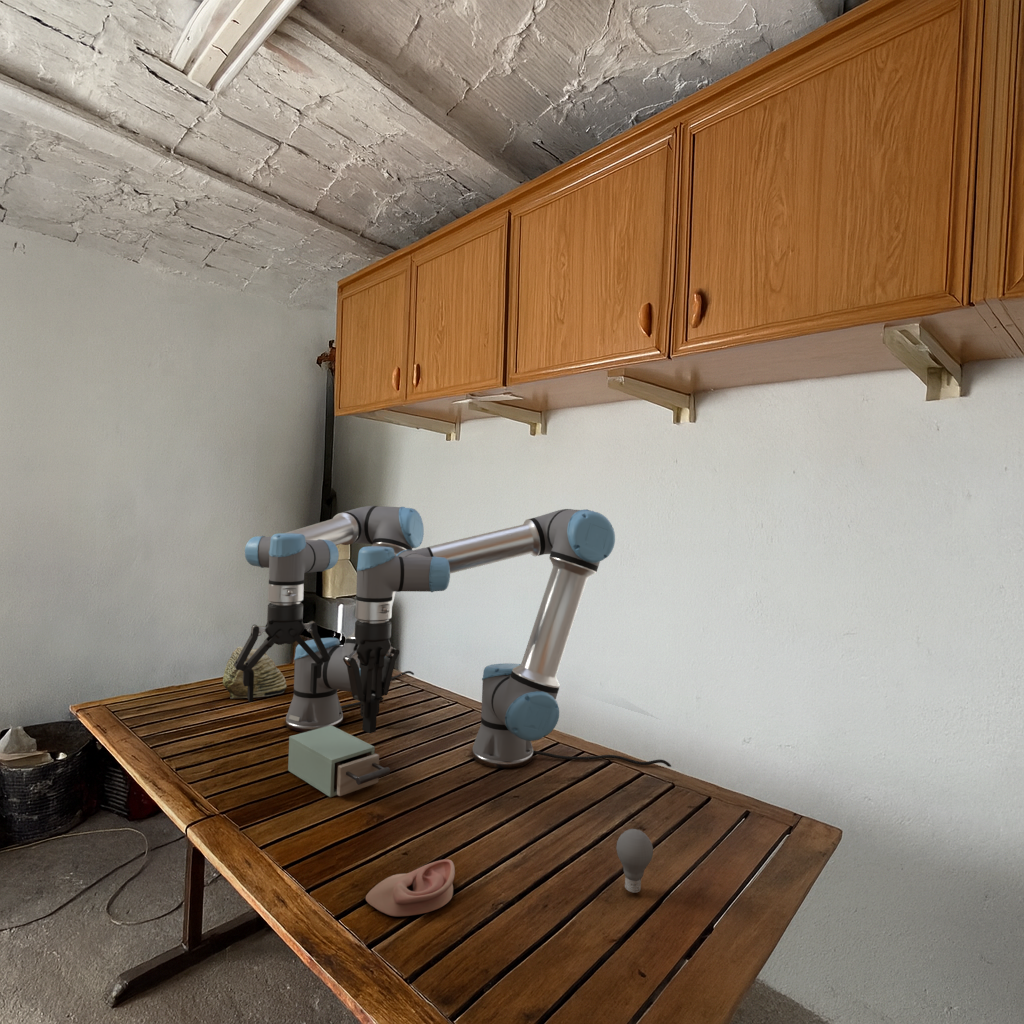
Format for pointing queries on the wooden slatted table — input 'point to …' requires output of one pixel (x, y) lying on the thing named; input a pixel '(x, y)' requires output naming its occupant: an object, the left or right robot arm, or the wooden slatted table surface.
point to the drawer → (357, 773)
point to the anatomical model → (414, 890)
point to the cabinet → (323, 755)
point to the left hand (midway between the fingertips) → (282, 696)
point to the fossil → (265, 677)
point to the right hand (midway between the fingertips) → (369, 730)
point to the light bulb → (634, 857)
